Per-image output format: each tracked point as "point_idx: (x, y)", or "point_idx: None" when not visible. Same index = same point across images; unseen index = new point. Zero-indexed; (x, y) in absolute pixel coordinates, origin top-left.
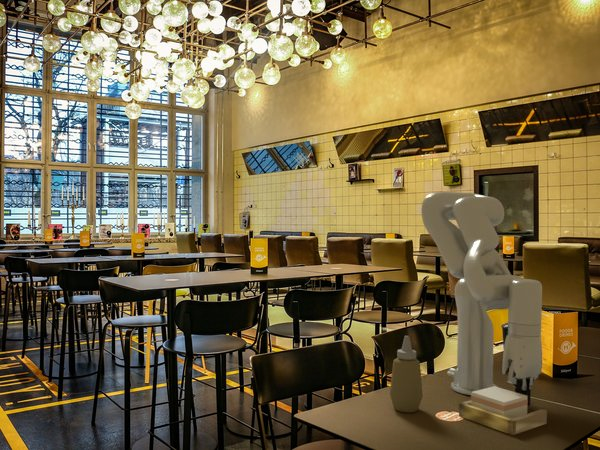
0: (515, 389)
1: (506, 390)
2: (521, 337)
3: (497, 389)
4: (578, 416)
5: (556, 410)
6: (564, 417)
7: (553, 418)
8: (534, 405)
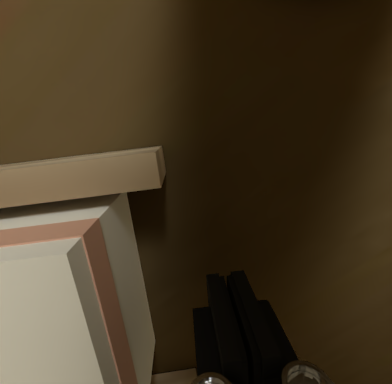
0: (220, 346)
1: (82, 382)
2: None
3: (16, 338)
4: (371, 370)
5: (373, 304)
6: (318, 362)
7: None
8: (361, 226)
